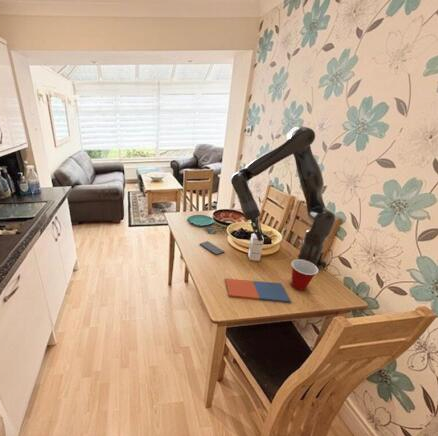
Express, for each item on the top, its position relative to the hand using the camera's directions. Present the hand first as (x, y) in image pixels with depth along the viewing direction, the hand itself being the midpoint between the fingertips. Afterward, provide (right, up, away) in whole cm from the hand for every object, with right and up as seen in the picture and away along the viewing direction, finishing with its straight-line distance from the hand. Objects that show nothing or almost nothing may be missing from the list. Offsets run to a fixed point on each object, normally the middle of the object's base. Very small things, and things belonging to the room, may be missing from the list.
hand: (261, 237), depth 124 cm
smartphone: (-20, -9, +23) cm, 32 cm away
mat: (-8, -24, -12) cm, 28 cm away
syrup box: (+2, -13, +14) cm, 19 cm away
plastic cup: (+14, -23, -9) cm, 28 cm away
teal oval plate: (-16, +5, +55) cm, 58 cm away
